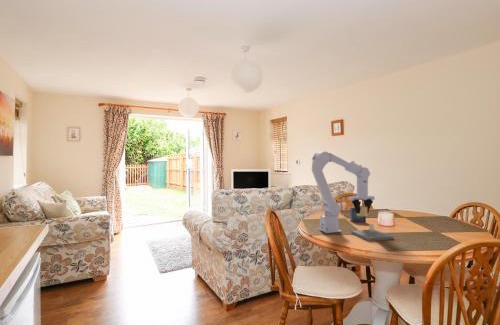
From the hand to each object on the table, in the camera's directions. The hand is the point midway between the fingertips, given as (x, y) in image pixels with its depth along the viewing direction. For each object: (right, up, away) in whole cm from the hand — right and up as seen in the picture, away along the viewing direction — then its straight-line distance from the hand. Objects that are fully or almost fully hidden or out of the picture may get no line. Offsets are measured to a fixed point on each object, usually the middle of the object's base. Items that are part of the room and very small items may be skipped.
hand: (362, 212), depth 156 cm
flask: (+5, -9, +20) cm, 23 cm away
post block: (-1, -10, -14) cm, 17 cm away
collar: (0, -1, 0) cm, 1 cm away
